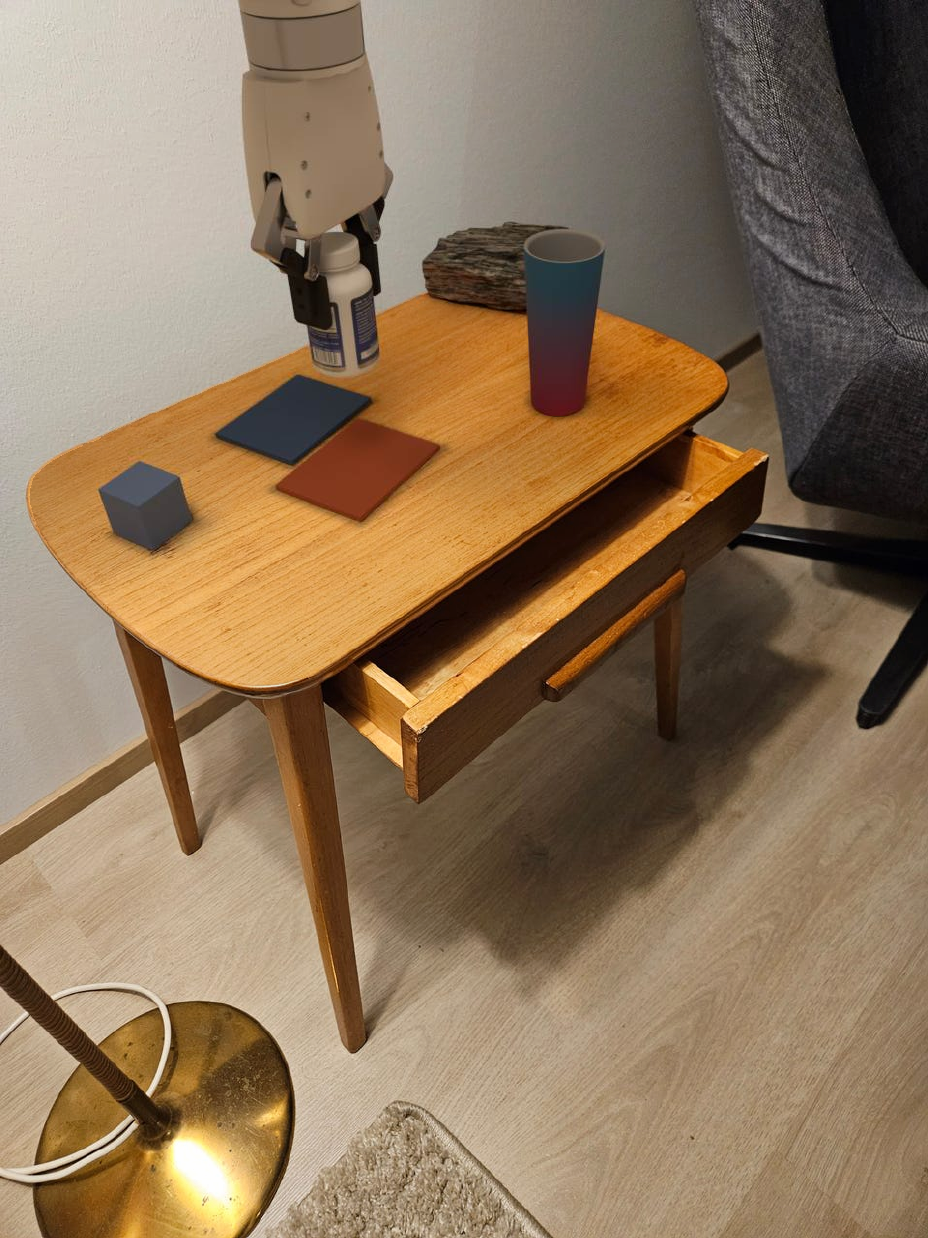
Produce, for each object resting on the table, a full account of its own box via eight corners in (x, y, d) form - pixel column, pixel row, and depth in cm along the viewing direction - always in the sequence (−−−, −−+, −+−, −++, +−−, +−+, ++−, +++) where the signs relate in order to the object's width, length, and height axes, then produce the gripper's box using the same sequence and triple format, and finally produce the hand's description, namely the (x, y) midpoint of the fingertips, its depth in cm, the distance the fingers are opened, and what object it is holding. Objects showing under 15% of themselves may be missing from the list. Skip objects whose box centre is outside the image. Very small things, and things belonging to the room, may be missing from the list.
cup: (511, 390, 92) (512, 235, 82) (577, 378, 94) (586, 223, 83) (536, 427, 88) (540, 267, 77) (605, 413, 89) (618, 254, 79)
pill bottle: (370, 341, 79) (358, 222, 72) (387, 372, 75) (376, 250, 69) (306, 353, 78) (287, 233, 71) (320, 385, 74) (302, 262, 68)
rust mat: (360, 522, 79) (360, 517, 78) (275, 489, 82) (274, 485, 82) (440, 449, 86) (439, 444, 85) (358, 422, 89) (358, 417, 89)
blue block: (153, 551, 77) (138, 506, 73) (113, 534, 78) (97, 489, 75) (192, 520, 79) (180, 476, 76) (153, 504, 81) (139, 460, 78)
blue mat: (292, 465, 85) (291, 460, 84) (215, 437, 88) (214, 433, 88) (371, 401, 92) (371, 397, 91) (298, 378, 95) (297, 373, 95)
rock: (464, 263, 114) (460, 210, 110) (590, 278, 109) (591, 223, 104) (420, 305, 106) (414, 250, 102) (553, 324, 101) (553, 267, 97)
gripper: (339, 2, 68) (365, 255, 80) (165, 65, 57) (226, 344, 70) (428, 13, 65) (440, 274, 77) (262, 81, 54) (307, 370, 67)
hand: (338, 305), depth 73 cm, fingers closed on pill bottle, 5 cm apart
